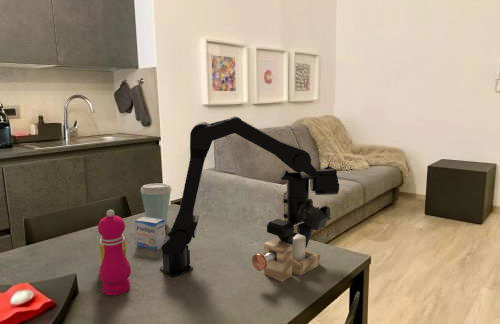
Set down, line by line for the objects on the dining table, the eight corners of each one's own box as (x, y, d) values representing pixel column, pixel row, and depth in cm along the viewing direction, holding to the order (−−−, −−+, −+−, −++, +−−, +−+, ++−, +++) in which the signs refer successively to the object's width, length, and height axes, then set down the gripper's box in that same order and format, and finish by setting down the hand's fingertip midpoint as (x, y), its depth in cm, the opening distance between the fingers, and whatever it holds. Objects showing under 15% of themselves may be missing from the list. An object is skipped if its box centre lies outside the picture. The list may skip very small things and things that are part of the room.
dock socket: (286, 283, 95) (286, 251, 94) (260, 272, 101) (260, 241, 100) (320, 264, 105) (320, 235, 104) (294, 255, 111) (294, 227, 110)
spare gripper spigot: (298, 270, 102) (298, 241, 101) (285, 265, 105) (285, 237, 104) (308, 264, 105) (308, 237, 104) (295, 260, 108) (295, 233, 107)
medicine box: (136, 247, 119) (134, 220, 117) (145, 242, 123) (143, 215, 122) (157, 250, 116) (156, 223, 115) (166, 245, 120) (164, 218, 119)
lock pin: (264, 273, 92) (263, 257, 92) (252, 268, 95) (251, 252, 94) (286, 261, 98) (286, 246, 98) (274, 257, 101) (274, 242, 100)
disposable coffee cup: (142, 221, 142) (140, 181, 139) (172, 219, 145) (170, 179, 142) (142, 231, 132) (139, 189, 129) (174, 228, 135) (172, 186, 132)
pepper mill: (122, 298, 90) (116, 215, 86) (94, 295, 91) (86, 213, 87) (137, 283, 97) (132, 206, 93) (111, 280, 98) (104, 204, 94)
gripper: (300, 209, 90) (300, 272, 93) (343, 193, 103) (341, 249, 106) (265, 200, 97) (265, 258, 100) (309, 186, 110) (308, 238, 113)
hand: (297, 251), depth 105 cm, fingers open, 6 cm apart
